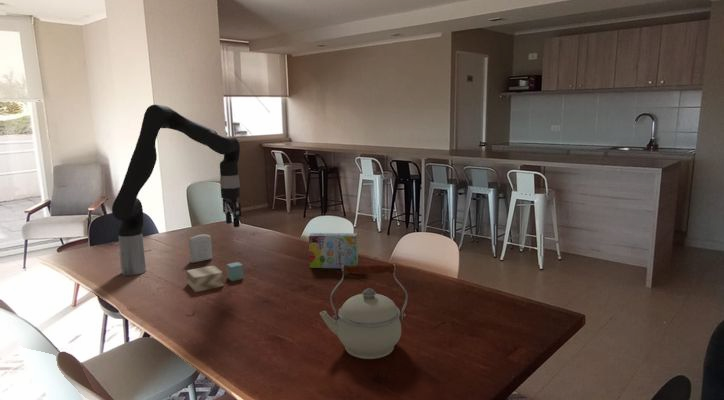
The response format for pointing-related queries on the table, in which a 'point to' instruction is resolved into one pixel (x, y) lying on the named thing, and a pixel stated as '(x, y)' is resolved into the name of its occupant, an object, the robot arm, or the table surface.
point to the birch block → (205, 278)
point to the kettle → (367, 318)
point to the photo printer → (200, 248)
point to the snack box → (333, 250)
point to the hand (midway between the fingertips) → (232, 225)
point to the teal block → (235, 271)
